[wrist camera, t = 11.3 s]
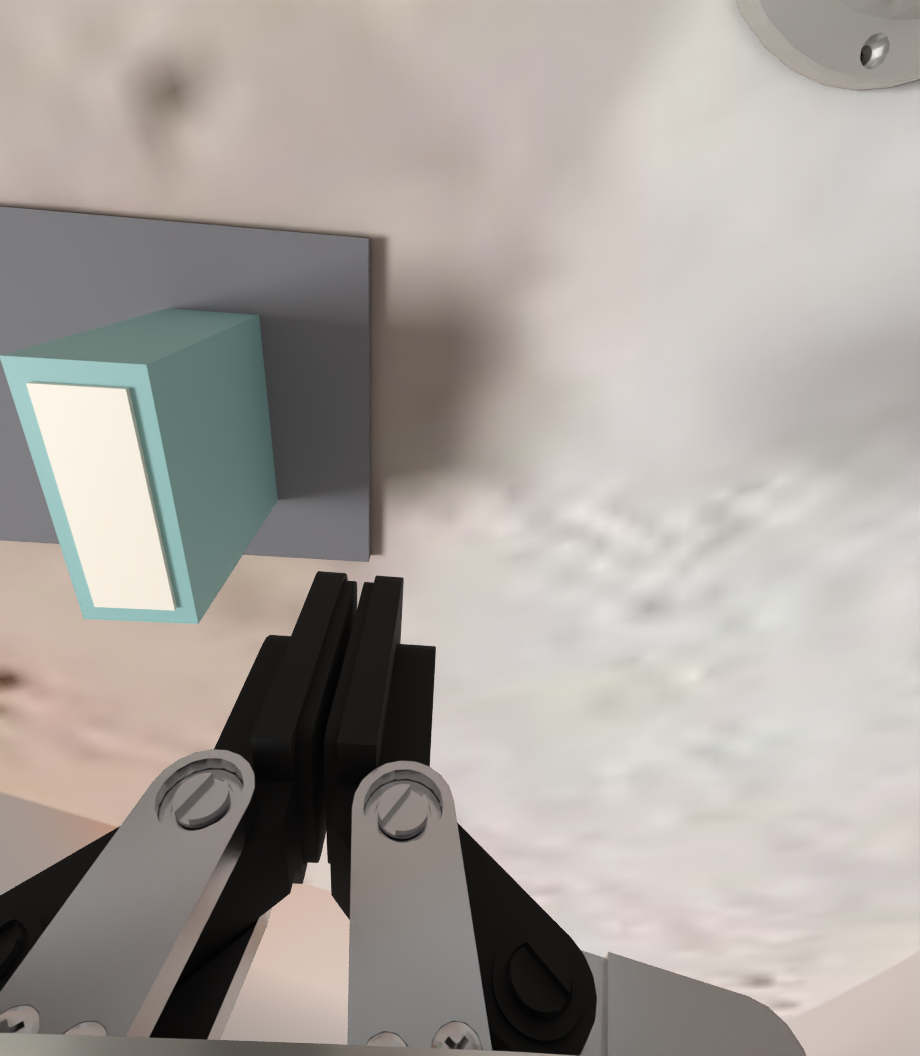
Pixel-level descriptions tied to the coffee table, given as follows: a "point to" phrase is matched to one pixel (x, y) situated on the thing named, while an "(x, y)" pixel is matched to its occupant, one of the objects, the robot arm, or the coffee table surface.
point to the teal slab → (150, 456)
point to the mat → (219, 286)
